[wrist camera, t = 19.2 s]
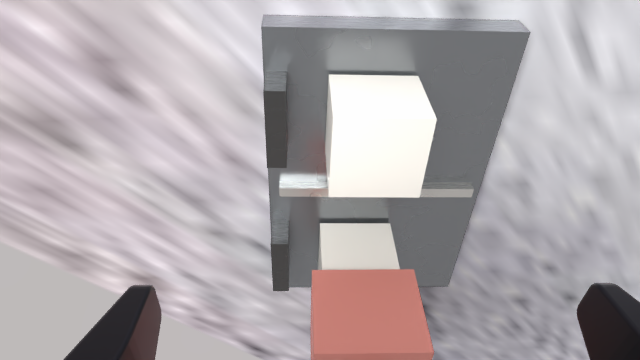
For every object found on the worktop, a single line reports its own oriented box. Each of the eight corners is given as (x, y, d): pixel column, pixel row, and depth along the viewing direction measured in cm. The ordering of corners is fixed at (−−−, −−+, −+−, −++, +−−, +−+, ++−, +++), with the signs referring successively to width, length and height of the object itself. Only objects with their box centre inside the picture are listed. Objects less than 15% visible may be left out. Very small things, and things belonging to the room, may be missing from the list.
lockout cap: (413, 269, 20) (439, 373, 17) (400, 328, 23) (418, 427, 20) (311, 269, 20) (314, 374, 16) (310, 329, 23) (312, 430, 19)
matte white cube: (390, 223, 23) (400, 274, 21) (381, 272, 25) (389, 323, 23) (320, 223, 23) (322, 274, 20) (317, 273, 25) (319, 324, 23)
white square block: (418, 75, 18) (436, 119, 16) (404, 149, 20) (419, 197, 18) (328, 74, 18) (333, 117, 15) (325, 148, 20) (328, 197, 18)
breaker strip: (518, 20, 18) (548, 49, 16) (442, 270, 28) (454, 310, 25) (263, 14, 18) (258, 44, 16) (274, 270, 27) (272, 311, 25)
